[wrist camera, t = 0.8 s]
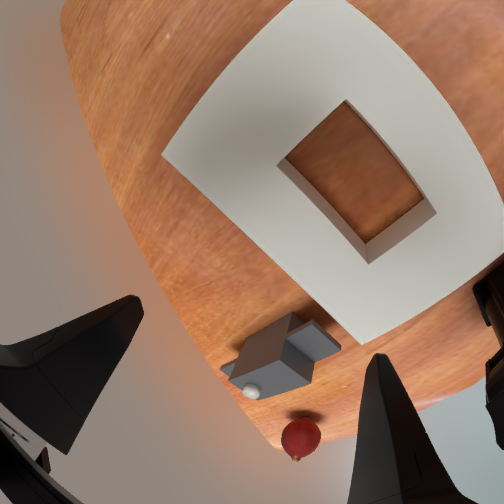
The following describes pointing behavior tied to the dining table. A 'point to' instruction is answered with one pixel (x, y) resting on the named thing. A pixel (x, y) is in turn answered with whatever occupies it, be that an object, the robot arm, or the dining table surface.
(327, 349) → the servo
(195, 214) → the dining table surface
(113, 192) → the dining table surface
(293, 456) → the onion
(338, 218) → the frame
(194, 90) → the dining table surface
